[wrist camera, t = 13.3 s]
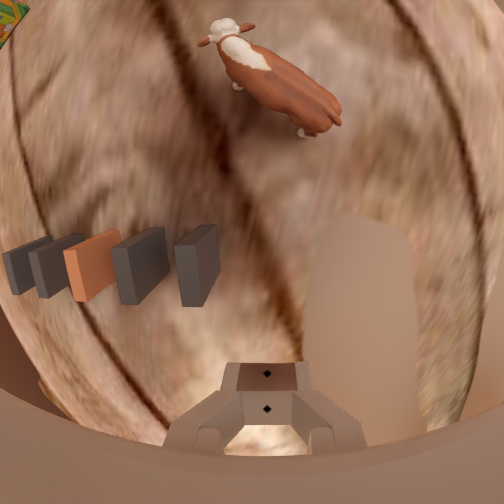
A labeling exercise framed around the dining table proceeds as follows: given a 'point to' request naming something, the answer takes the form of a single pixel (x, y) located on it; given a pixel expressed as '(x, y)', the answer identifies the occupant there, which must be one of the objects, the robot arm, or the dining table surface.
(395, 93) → the dining table surface
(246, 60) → the bull figurine
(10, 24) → the chalk box
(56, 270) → the domino
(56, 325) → the dining table surface
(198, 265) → the domino
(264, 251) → the dining table surface
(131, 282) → the domino
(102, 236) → the domino
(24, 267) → the domino
